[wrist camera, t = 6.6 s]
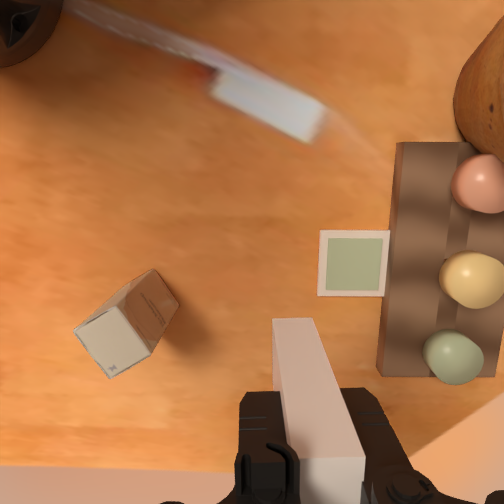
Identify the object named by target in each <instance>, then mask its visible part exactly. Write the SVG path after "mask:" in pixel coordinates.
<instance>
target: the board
mask: <svg viewBox="0 0 504 504" xmlns="http://www.w3.org/2000/svg"><path fill="white" fill-rule="evenodd" d="M481 154H482V153H481V152H480V151H479V150H478V149H476V148H475V147H474V146H473V145H472V143H471V142H401V143H396V154H395V165H394V176H393V187H392V198H391V209H390V220H389V230H390V239H389V250H388V261H387V272H386V282H385V293H384V296H382V307H381V317H380V328H379V339H378V350H377V361H376V368H377V369H378V371H379V373H380V374H381V376H382V377H437V376H436V375H435V374H434V372H433V371H432V370H431V369H430V368H429V367H428V365H427V364H426V363H425V361H424V359H423V354H422V351H423V346H424V344H425V342H426V340H427V339H428V338H429V337H430V336H431V335H432V334H434V333H435V332H437V331H440V330H443V329H454V330H458V331H460V332H461V333H463V334H464V335H465V336H467V337H468V338H469V339H470V340H471V341H473V342H474V343H475V344H476V345H477V346H478V347H479V348H480V349H481V351H482V353H483V356H484V363H483V367H482V369H481V371H480V372H479V374H478V375H477V376H476V377H495V373H496V367H497V362H498V356H499V350H500V345H501V339H502V333H503V328H504V293H503V295H502V296H501V297H500V299H499V300H497V301H496V302H495V303H494V304H492V305H490V306H488V307H485V308H480V309H472V308H468V307H465V306H463V305H462V304H460V303H459V302H457V301H456V300H454V299H453V298H451V297H450V296H449V295H447V294H446V293H445V292H444V291H443V290H442V288H441V286H440V282H439V273H440V269H441V267H442V265H443V264H444V259H448V258H449V257H450V256H451V255H453V254H455V253H457V252H459V251H463V250H473V251H477V252H480V253H482V254H485V255H487V256H489V257H492V258H494V259H496V260H498V261H499V262H501V263H502V264H503V266H504V211H502V212H499V213H484V212H479V211H475V210H471V209H467V208H464V207H462V206H461V205H459V204H458V203H457V202H456V200H455V199H454V197H453V195H452V191H451V181H452V177H453V174H454V172H455V170H456V169H457V167H458V166H459V165H460V164H461V163H462V162H463V161H465V160H466V159H468V158H470V157H472V156H475V155H481Z"/></svg>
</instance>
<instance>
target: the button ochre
mask: <svg viewBox="0 0 504 504" xmlns="http://www.w3.org/2000/svg"><path fill="white" fill-rule="evenodd" d="M439 282H440V286H441V288H442V290H443V291H444V292H445V293H446V294H447V295H449V296H450V297H451V298H453V299H454V300H456V301H457V302H459V303H460V304H462V305H463V306H465V307H468V308H472V309H480V308H485V307H488V306H490V305H492V304H494V303H495V302H496V301H497V300H499V299H500V297H501V296H502V295H503V293H504V266H503V264H502V263H501V262H499V261H498V260H496V259H494V258H492V257H489V256H487V255H485V254H482V253H480V252H477V251H473V250H463V251H459V252H457V253H455V254H453V255H451V256H450V257H449V258H448V259H447V260H446V261H445V262H444V264H443V265H442V267H441V269H440V273H439Z"/></svg>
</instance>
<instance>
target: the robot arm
mask: <svg viewBox="0 0 504 504" xmlns="http://www.w3.org/2000/svg"><path fill="white" fill-rule="evenodd" d="M62 3H63V0H0V67H6V66H10V65H13V64H16V63H19V62H21V61H23V60H25V59H27V58H28V57H30V56H31V55H33V54H34V53H35V52H36V51H37V50H39V49H40V48H41V47H42V45H43V44H44V43H45V42H46V41H47V39H48V38H49V36H50V35H51V33H52V32H53V30H54V28H55V26H56V23H57V21H58V18H59V15H60V12H61V8H62ZM272 371H273V390H274V391H263V392H247V393H246V394H245V396H244V397H243V399H242V401H241V402H240V408H239V446H238V453H237V456H236V460H235V463H234V467H235V486H234V488H233V490H232V491H231V492H230V494H229V495H228V496H227V497H226V498H225V499H223V500H222V501H221V502H219V503H217V504H476V503H472V502H468V501H464V500H460V499H457V498H453V497H450V496H447V495H444V494H442V493H441V492H439V491H438V490H437V489H436V487H435V486H434V485H433V484H432V482H431V481H430V480H429V479H428V478H427V477H425V476H424V475H422V474H421V473H420V472H419V471H416V470H414V469H413V467H412V465H411V463H410V462H409V460H408V458H407V456H406V454H405V452H404V450H403V448H402V446H401V444H400V442H399V440H398V438H397V436H396V434H395V433H394V431H393V429H392V427H391V425H390V424H389V421H388V419H387V417H386V415H385V414H384V411H383V409H382V407H381V406H380V404H379V402H378V400H377V398H376V397H374V396H373V395H372V394H371V393H370V392H369V391H368V390H366V389H365V388H339V386H338V384H337V381H336V378H335V376H334V373H333V371H332V368H331V365H330V363H329V360H328V358H327V355H326V352H325V350H324V347H323V345H322V342H321V339H320V337H319V334H318V332H317V329H316V326H315V324H314V321H313V319H312V317H310V318H272ZM161 504H184V503H181V502H175V501H173V502H171V501H166V502H163V503H161ZM485 504H504V490H498V491H494V492H492V493H491V494H489V495H488V496H487V498H486V501H485Z"/></svg>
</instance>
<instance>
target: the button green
mask: <svg viewBox="0 0 504 504" xmlns="http://www.w3.org/2000/svg"><path fill="white" fill-rule="evenodd" d="M422 354H423V359H424V361H425V363H426V364H427V365H428V367H429V368H430V369H431V370H432V371H433V372H434V374H435V375H436V376H437V377H438V378H439V379H440V380H441V381H443V382H444V383H447V384H451V385H460V384H464V383H467V382H469V381H471V380H472V379H474V378H475V377H476V376H477V375H478V374H479V372H480V371H481V369H482V367H483V363H484V356H483V353H482V351H481V349H480V348H479V347H478V346H477V345H476V344H475V343H474V342H473V341H471V340H470V339H469V338H468V337H467V336H465V335H464V334H463V333H461V332H460V331H458V330H454V329H443V330H440V331H437V332H435V333H434V334H432V335H431V336H430V337H429V338H428V339H427V340H426V342H425V344H424V346H423V351H422Z"/></svg>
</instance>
